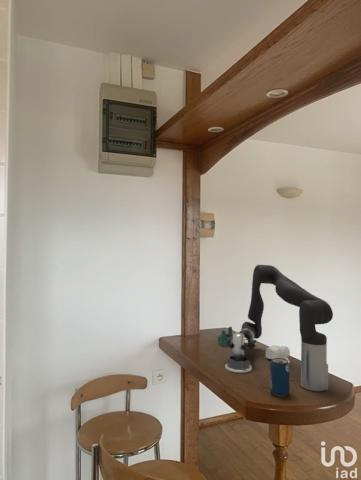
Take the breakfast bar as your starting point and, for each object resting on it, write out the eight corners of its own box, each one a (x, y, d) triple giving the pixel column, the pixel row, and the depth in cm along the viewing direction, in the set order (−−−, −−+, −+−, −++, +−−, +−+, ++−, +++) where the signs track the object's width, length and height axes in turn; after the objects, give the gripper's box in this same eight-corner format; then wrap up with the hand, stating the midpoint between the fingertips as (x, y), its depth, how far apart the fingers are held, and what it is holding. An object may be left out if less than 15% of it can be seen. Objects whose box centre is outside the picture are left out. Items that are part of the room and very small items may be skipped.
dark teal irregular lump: (231, 342, 197) (231, 326, 197) (236, 346, 188) (236, 330, 188) (216, 342, 195) (216, 326, 196) (220, 347, 186) (220, 330, 187)
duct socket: (250, 364, 160) (250, 354, 160) (252, 373, 148) (252, 363, 148) (224, 363, 161) (225, 353, 161) (225, 372, 150) (225, 361, 150)
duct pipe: (240, 359, 158) (240, 332, 158) (246, 362, 153) (246, 335, 154) (230, 360, 156) (230, 333, 156) (236, 364, 152) (236, 336, 152)
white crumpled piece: (264, 365, 168) (280, 363, 155) (261, 347, 171) (276, 343, 158) (280, 364, 170) (297, 362, 157) (277, 346, 173) (293, 342, 160)
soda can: (293, 394, 128) (293, 361, 128) (280, 398, 124) (280, 364, 125) (278, 387, 134) (279, 356, 134) (265, 391, 130) (266, 359, 130)
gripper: (230, 328, 171) (221, 336, 155) (260, 331, 166) (253, 340, 150) (230, 343, 171) (221, 353, 155) (260, 347, 165) (253, 358, 150)
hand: (237, 347), depth 152 cm, fingers closed on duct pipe, 5 cm apart
